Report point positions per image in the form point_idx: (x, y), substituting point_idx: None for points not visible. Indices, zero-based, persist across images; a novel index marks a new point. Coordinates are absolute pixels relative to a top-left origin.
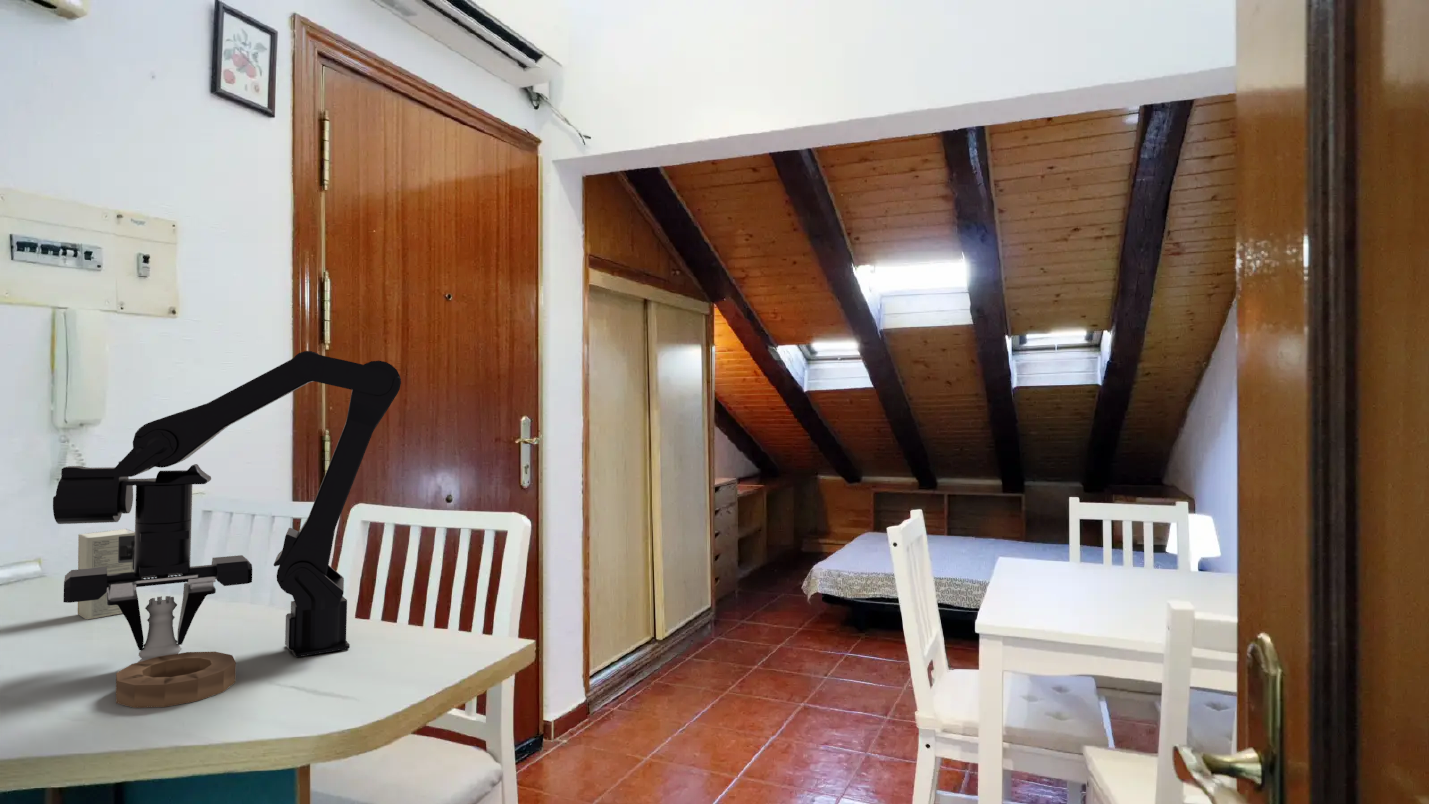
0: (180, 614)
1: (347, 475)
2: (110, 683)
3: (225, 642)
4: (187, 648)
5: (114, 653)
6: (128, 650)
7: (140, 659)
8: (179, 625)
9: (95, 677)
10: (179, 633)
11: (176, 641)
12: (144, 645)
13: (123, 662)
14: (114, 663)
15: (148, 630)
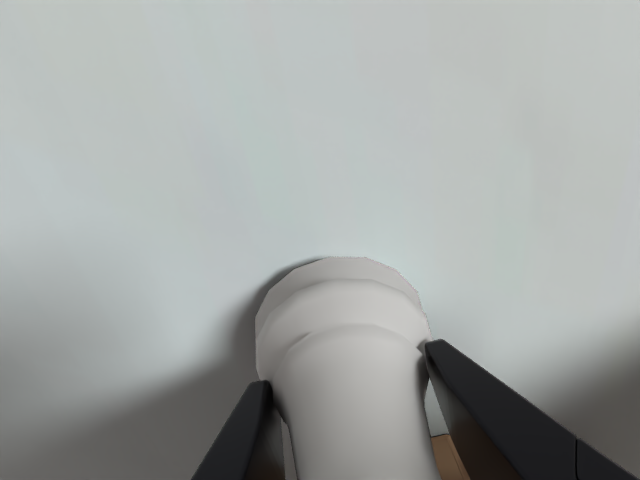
0: (513, 477)
1: None
2: None
3: (634, 47)
4: (436, 108)
5: (42, 70)
6: (102, 24)
7: (259, 325)
8: (474, 454)
9: (143, 412)
10: (459, 452)
11: (426, 383)
12: (281, 412)
13: (173, 262)
14: (136, 266)
15: (297, 477)
